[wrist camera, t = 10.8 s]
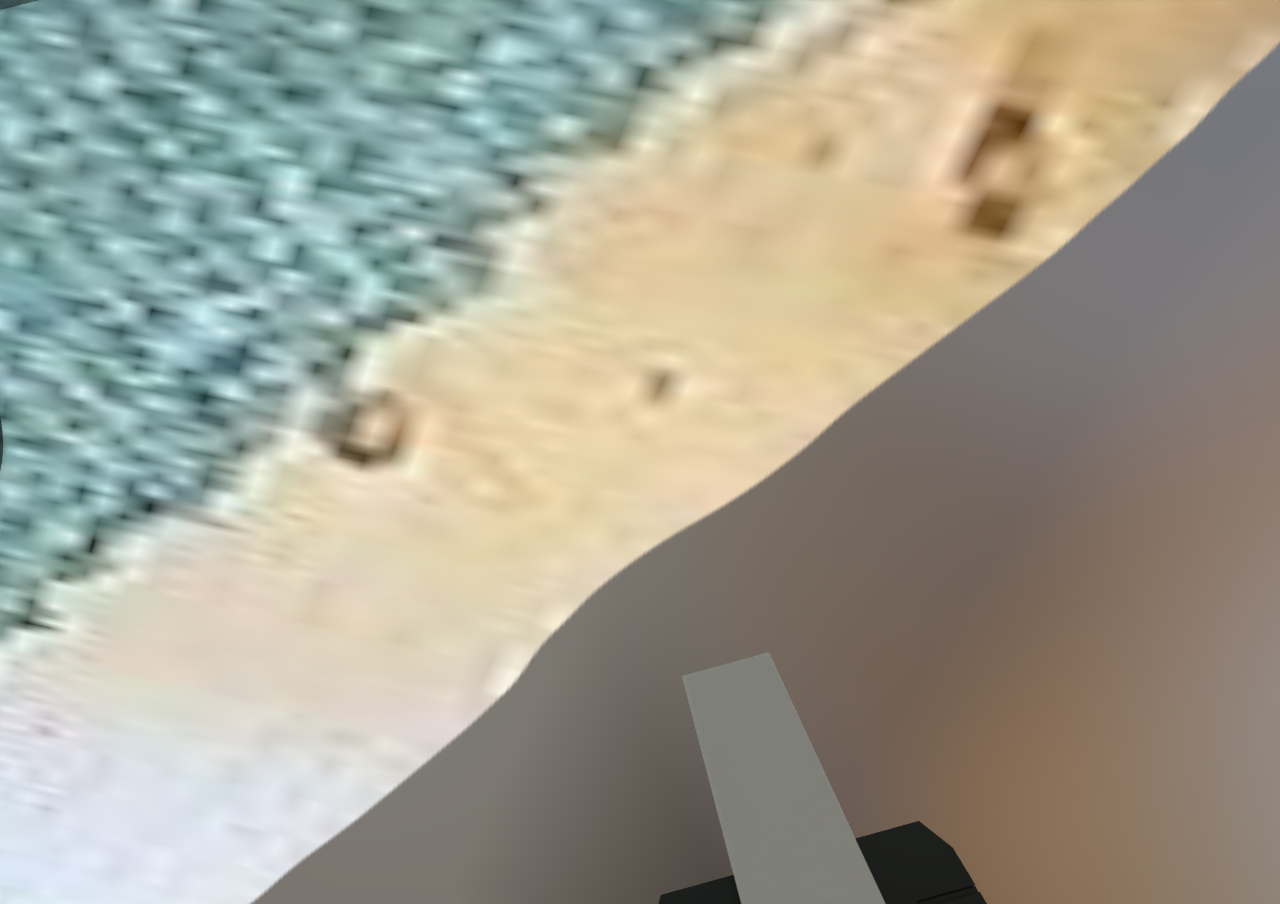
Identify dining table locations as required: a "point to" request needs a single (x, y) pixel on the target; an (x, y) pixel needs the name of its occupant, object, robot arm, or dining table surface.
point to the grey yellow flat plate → (12, 3)
